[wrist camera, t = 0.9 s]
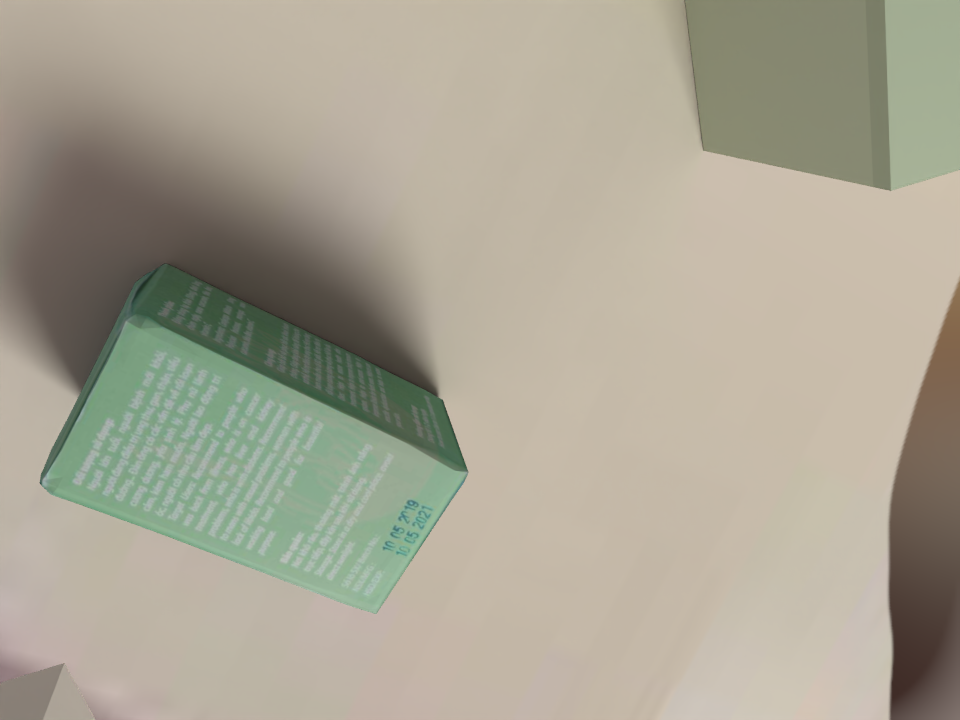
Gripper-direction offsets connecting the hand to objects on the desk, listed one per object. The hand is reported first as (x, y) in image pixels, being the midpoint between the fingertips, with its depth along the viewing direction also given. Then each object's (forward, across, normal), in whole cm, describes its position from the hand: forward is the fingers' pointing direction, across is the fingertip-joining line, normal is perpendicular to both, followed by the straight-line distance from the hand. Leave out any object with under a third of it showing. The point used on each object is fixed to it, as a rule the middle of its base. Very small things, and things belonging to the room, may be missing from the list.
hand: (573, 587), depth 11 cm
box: (+24, -7, -6) cm, 26 cm away
